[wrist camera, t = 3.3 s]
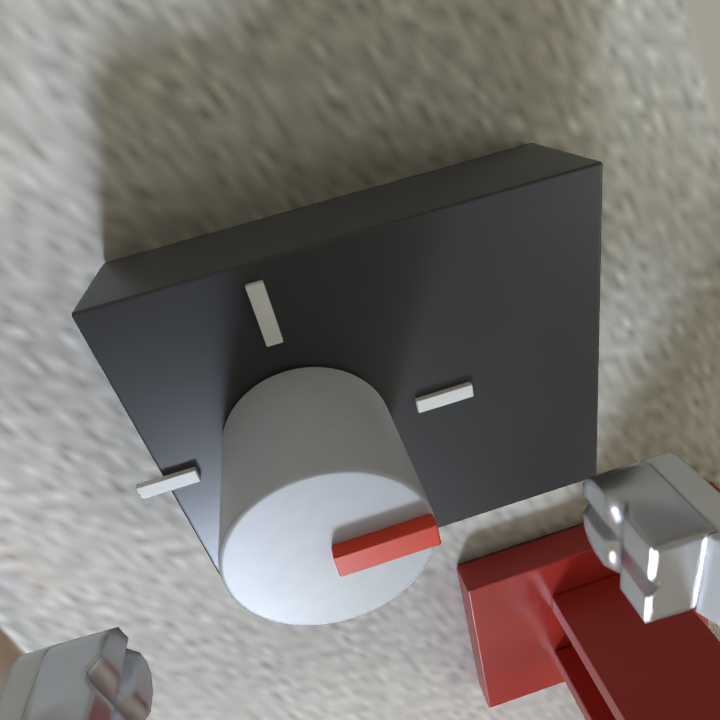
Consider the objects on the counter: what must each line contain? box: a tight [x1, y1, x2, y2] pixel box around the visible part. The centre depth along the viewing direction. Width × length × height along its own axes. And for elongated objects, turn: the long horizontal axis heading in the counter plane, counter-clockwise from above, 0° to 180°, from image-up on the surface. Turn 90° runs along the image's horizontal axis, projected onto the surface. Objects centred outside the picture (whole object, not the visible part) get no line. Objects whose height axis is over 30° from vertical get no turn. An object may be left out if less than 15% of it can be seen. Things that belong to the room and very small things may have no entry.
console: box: [72, 143, 602, 575], centre depth 14 cm, size 12×9×3 cm
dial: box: [218, 367, 441, 625], centre depth 11 cm, size 4×4×4 cm
